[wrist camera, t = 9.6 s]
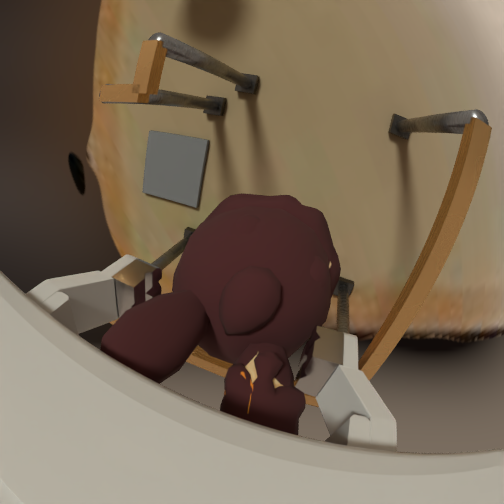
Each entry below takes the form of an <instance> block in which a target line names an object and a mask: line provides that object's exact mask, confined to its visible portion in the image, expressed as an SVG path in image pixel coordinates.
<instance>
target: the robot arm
mask: <svg viewBox="0 0 504 504" xmlns="http://www.w3.org/2000/svg"><path fill="white" fill-rule="evenodd" d="M161 278H162V270H161V269H160V268H159V267H156V266H154V265H152V264H150V263H147V262H145V261H143V260H141V259H138V258H136V257H134V256H131V255H125V256H123V257H122V258H120V259H119V260H118V261H116V262H115V263H113V264H112V265H110V266H109V267H107V268H106V269H105V270H103V271H102V272H100V271H93V272H88V273H82V274H76V275H71V276H64V277H59V278H53V279H47V280H45V281H44V282H42V283H41V284H39V285H38V286H36V287H35V288H33V289H32V290H31V291H29V292H28V293H26V294H25V293H23V292H22V291H21V290H20V289H19V288H18V287H17V286H16V285H14V283H13V282H11V281H10V280H9V279H8V278H7V277H6V276H5V275H4V274H3V273H2V272H1V271H0V504H504V450H502V449H492V450H483V451H474V452H460V453H410V452H397V430H396V420H395V419H394V417H393V416H392V414H391V413H390V411H389V410H388V408H387V407H386V405H385V404H384V402H383V401H382V399H381V398H380V396H379V395H378V393H377V392H376V390H375V389H374V388H373V386H372V384H371V383H370V382H369V380H368V379H367V377H366V376H365V374H364V373H363V371H361V370H358V338H357V336H355V335H351V334H348V333H344V332H343V333H342V332H339V331H336V330H332V329H329V328H326V327H322V326H319V325H315V327H314V329H313V331H312V333H311V338H310V341H308V342H307V343H306V345H305V347H304V349H303V352H302V355H301V358H300V362H299V368H300V370H299V371H298V373H297V375H296V379H295V383H294V387H296V388H298V389H299V390H301V391H302V392H303V393H304V394H307V395H311V396H314V397H316V400H317V403H318V405H319V408H320V410H321V413H322V416H323V418H324V420H325V423H326V426H327V428H328V431H329V433H330V437H329V438H328V439H327V440H325V441H320V440H315V439H310V438H306V437H302V436H298V435H294V434H290V433H287V432H283V431H279V430H276V429H272V428H269V427H266V426H263V425H259V424H256V423H253V422H250V421H247V420H244V419H241V418H238V417H236V416H233V415H230V414H227V413H225V412H222V411H219V410H217V409H214V408H212V407H209V406H207V405H204V404H202V403H200V402H197V401H195V400H193V399H190V398H188V397H186V396H184V395H181V394H179V393H177V392H175V391H173V390H171V389H169V388H167V387H165V386H163V385H161V384H159V383H157V382H155V381H153V380H151V379H149V378H147V377H145V376H143V375H142V374H140V373H138V372H136V371H134V370H132V369H131V368H129V367H127V366H125V365H124V364H122V363H120V362H119V361H117V360H115V359H114V358H112V357H110V356H109V355H107V354H105V353H104V352H102V351H101V350H99V349H98V348H96V347H94V346H93V345H91V344H90V343H88V342H87V341H85V340H84V339H83V338H81V337H80V336H79V335H78V334H79V333H81V332H84V331H87V330H90V329H92V328H95V327H98V326H100V325H103V324H106V323H109V322H111V321H114V320H117V319H118V318H120V317H121V316H122V315H123V313H124V312H125V311H126V310H128V309H130V308H132V307H134V306H137V305H139V304H141V303H143V302H145V301H147V300H149V299H151V298H153V297H155V296H158V295H161V286H160V284H159V282H158V281H159V280H160V279H161Z"/></svg>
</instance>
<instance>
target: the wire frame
mask: <svg viewBox="0 0 504 504" xmlns="http://www.w3.org/2000/svg"><path fill="white" fill-rule="evenodd" d="M165 57H169V58H171V59H174V60H177V61H180V62H183V63H186V64H188V65H191V66H194V67H196V68H199V69H201V70H204V71H206V72H209V73H211V74H214V75H216V76H218V77H221V78H223V79H225V80H227V81H230V82H232V83H234V84H236V87H235V91H238V92H245V93H251V94H255V93H256V89H257V85H258V81H259V76H256V75H250V74H243V73H239V72H238V71H236V70H234V69H233V68H231V67H229V66H227V65H226V64H224V63H222V62H220V61H218V60H217V59H215V58H213V57H211V56H209V55H207V54H205V53H203V52H201V51H200V50H198V49H196V48H194V47H191V46H189V45H187V44H185V43H183V42H181V41H179V40H177V39H175V38H172V37H170V36H168V35H165V34H163V33H155V34H153V35H152V36H151V37H150V38H149V40H148V41H143V43H142V47H141V51H140V55H139V59H138V63H137V68H136V72H135V77H134V82H133V84H117V85H115V84H106V85H102V86H101V91H100V95H99V97H100V98H99V102H102V103H128V104H151V105H166V106H177V107H187V108H196V109H204V111H203V113H207V114H214V115H220V116H223V113H224V108H225V104H226V98H221V97H214V96H207V97H206V98H203V97H198V96H193V95H188V94H182V93H177V92H171V91H165V90H158V89H159V84H160V79H161V74H162V70H163V65H164V61H165ZM491 130H492V127H490V126H489V125H488V120H487V117H486V116H485V114H484V113H483V112H482V111H480V110H468V111H459V112H451V113H444V114H437V115H430V116H424V117H418V118H412V119H406V118H404V117H402V116H399V115H397V114H393V116H392V120H391V124H390V128H389V132H390V133H392V134H395V135H397V136H399V137H402V138H404V139H408V138H409V134H410V132H428V133H456V134H463V136H462V140H461V144H460V147H459V151H458V155H457V158H456V162H455V165H454V168H453V172H452V175H451V178H450V181H449V184H448V187H447V190H446V193H445V196H444V199H443V201H442V204H441V207H440V209H439V212H438V214H437V217H436V220H435V222H434V224H433V227H432V229H431V232H430V234H429V236H428V239H427V241H426V243H425V245H424V248H423V250H422V252H421V254H420V256H419V258H418V260H417V263H416V265H415V267H414V269H413V271H412V273H411V275H410V277H409V279H408V281H407V282H406V284H405V286H404V288H403V290H402V292H401V294H400V296H399V297H398V299H397V301H396V303H395V304H394V306H393V308H392V310H391V311H390V313H389V315H388V317H387V318H386V320H385V322H384V323H383V325H382V326H381V328H380V330H379V331H378V333H377V334H376V336H375V338H374V339H373V341H372V342H371V344H370V345H369V347H368V348H367V350H366V352H365V353H364V354H363V356H362V357H361V359H360V360H359V361H358V370H361V371H363V373H364V374H365V376H366V377H367V379H368V380H370V379H371V378H372V377H373V375H374V374H375V373H376V372H377V370H378V369H379V368H380V366H381V365H382V364H383V362H384V361H385V360H386V358H387V357H388V355H389V354H390V353H391V352H392V350H393V349H394V347H395V346H396V345H397V343H398V342H399V340H400V339H401V337H402V336H403V334H404V333H405V331H406V330H407V328H408V327H409V325H410V324H411V322H412V321H413V319H414V317H415V316H416V314H417V313H418V311H419V309H420V308H421V306H422V304H423V303H424V301H425V299H426V297H427V296H428V294H429V292H430V290H431V289H432V287H433V285H434V283H435V281H436V279H437V278H438V276H439V274H440V272H441V270H442V268H443V266H444V264H445V262H446V260H447V258H448V256H449V254H450V252H451V249H452V247H453V245H454V243H455V241H456V238H457V236H458V234H459V231H460V229H461V227H462V224H463V222H464V219H465V217H466V214H467V212H468V209H469V206H470V203H471V201H472V198H473V195H474V192H475V189H476V186H477V183H478V180H479V177H480V173H481V170H482V166H483V163H484V159H485V155H486V152H487V147H488V143H489V139H490V134H491ZM195 230H196V229H193V228H189V227H187V228H186V229H185V232H184V239H182V240H181V241H180V242H178V243H177V244H176V245H174V246H173V247H172V248H171V249H169V250H168V251H167V252H165V253H164V254H163V255H162V256H160V257H159V258H158V259H156V260H155V261H154V262H153V263H151V264H152V265H154V266H156V267H159V268H160V269H161V270H163V269H164V268H165V267H166V266H167V265H169V264H170V263H171V262H172V261H173V260H174V259H176V258H177V257H178V256H179V255H180V254H181V253H183V252H184V249H185V247H186V245H187V242H188V240H189V238H190V236H191V235H192V234H193V232H194V231H195ZM353 286H354V281H351V280H348V279H345V278H342V277H339V281H338V283H337V285H336V288H335V290H334V292H333V294H334V295H337V296H338V306H337V331H339V332H342V333H343V332H344V333H348V334H349V300H348V297H349V295H350V293H351V291H352V288H353ZM118 319H119V318H118ZM118 319H117V320H118ZM117 320H114V321H111V322H109V323H111V324H113V325H114V323H115V322H116V321H117ZM186 362H189V363H191V364H193V365H196V366H198V367H200V368H203V369H205V370H208V371H210V372H212V373H215V374H217V375H220V376H222V377H225V376H226V373H227V371H228V368H229V367H231V366H232V365H233V364H231V363H228V362H225V361H223V360H220V359H217V358H214V357H212V356H210V355H209V354H208V353H207V352H206V351H204V350H203V349H202V348H201V347H199V346H197V347H196V348H195V350H194V351H193V352H192V354H191V355H190V356H189V358H188V359H187V360H186ZM294 383H295V381H294ZM304 395H305V400H306V404H308V405H312V406H316V407H319V405H318V403H317V400H316V397H314V396H311V395H307V394H304Z"/></svg>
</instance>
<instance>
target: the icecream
mask: <svg viewBox="0 0 504 504" xmlns="http://www.w3.org/2000/svg"><path fill="white" fill-rule="evenodd" d="M340 270H341V268H340V263H339V259H338V255H337V253H336V251H335V248H334V246H333V243H332V239H331V235H330V231H329V228H328V224H327V221H326V219H325V217H324V215H323V213H322V212H321V211H319V210H318V209H315V208H312V207H308V206H304V205H302V204H301V203H300V202H299V201H298V200H297V199H296V198H294V197H292V196H290V195H278V196H263V195H253V194H237V195H231V196H229V197H228V198H226V199H225V200H224V201H222V202H221V203H220V204H219V205H218V206H217V207H216V208H215V209H214V211H213V212H212V213H211V214H210V215H209V216H208V217H207V218H206V219H205V221H204V222H203V223H201V224H200V225H199V226H198V228H197V229H196V230H195V231H194V232H193V234H192V235H191V236H190V238H189V240H188V242H187V245H186V247H185V249H184V252H183V254H182V256H181V259H180V261H179V263H178V266H177V268H176V270H175V273H174V278H173V287H172V291H173V292H171V293H166V294H161V295H158V296H155V297H153V298H151V299H149V300H147V301H145V302H143V303H141V304H139V305H137V306H134V307H132V308H130V309H128V310H126V311H125V312H124V313H123V315H122V316H121V317H120V318H119V319H118V320H117V321H116V322H115V323H114V325H113V326H112V327H111V328H110V329H109V330H108V331H107V333H106V334H105V335H104V336H103V339H102V344H101V349H100V350H101V351H102V352H104V353H105V354H107V355H109V356H110V357H112V358H114V359H115V360H117V361H119V362H120V363H122V364H124V365H125V366H127V367H129V368H131V369H132V370H134V371H136V372H138V373H140V374H142V375H143V376H145V377H147V378H149V379H151V380H153V381H155V382H157V383H159V384H160V383H161V382H163V381H164V380H165V379H167V378H168V377H170V376H172V375H173V374H175V373H176V372H177V371H179V370H180V369H181V367H182V366H183V364H184V363H185V362H186V360H187V359H188V358H189V356H190V355H191V354H192V352H193V351H194V350H195V348H196V347H197V346H198V345H199V346H200V347H201V348H202V349H203V350H204V351H206V352H207V353H208V354H209V355H210V356H212V357H214V358H217V359H220V360H223V361H225V362H228V363H231V364H233V365H232V366H231V367H229V368H228V371H227V373H226V376H225V381H224V382H225V392H224V397H223V400H222V403H221V407H220V411H222V412H225V413H227V414H230V415H233V416H236V417H238V418H241V419H244V420H247V421H250V422H253V423H256V424H259V425H263V426H266V427H269V428H272V429H276V430H279V431H283V432H287V433H290V434H294V435H298V423H299V421H298V420H299V417H300V416H301V414H302V412H303V411H304V409H305V404H306V400H305V395H304V393H303V392H302V391H301V390H299V389H298V388H296V387H294V377H293V373H292V370H291V367H290V364H289V360H288V358H289V357H290V356H291V355H292V354H293V353H294V352H295V351H296V350H298V349H299V348H300V347H301V346H302V345H303V344H304V343H305V342H306V341H307V340H308V339H309V338H310V337H311V333H312V331H313V329H314V327H315V325H319V326H321V325H322V324H323V323H324V322H325V321H326V319H327V315H328V311H329V308H330V302H331V297H332V295H333V292H334V290H335V288H336V285H337V283H338V281H339V276H340Z"/></svg>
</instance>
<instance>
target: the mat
mask: <svg viewBox="0 0 504 504" xmlns="http://www.w3.org/2000/svg"><path fill="white" fill-rule="evenodd" d="M208 145H209V140H205V139H200V138H195V137H189V136H183V135H177V134H171V133H164V132H158V131H149V137H148V144H147V152H146V161H145V170H144V181H143V193H147V194H151V195H154V196H158V197H161V198H165V199H168V200H172V201H175V202H179V203H182V204H185V205H189V206H192V207H196V208H197V207H198V205H199V198H200V192H201V185H202V179H203V173H204V167H205V162H206V156H207V150H208Z"/></svg>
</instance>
